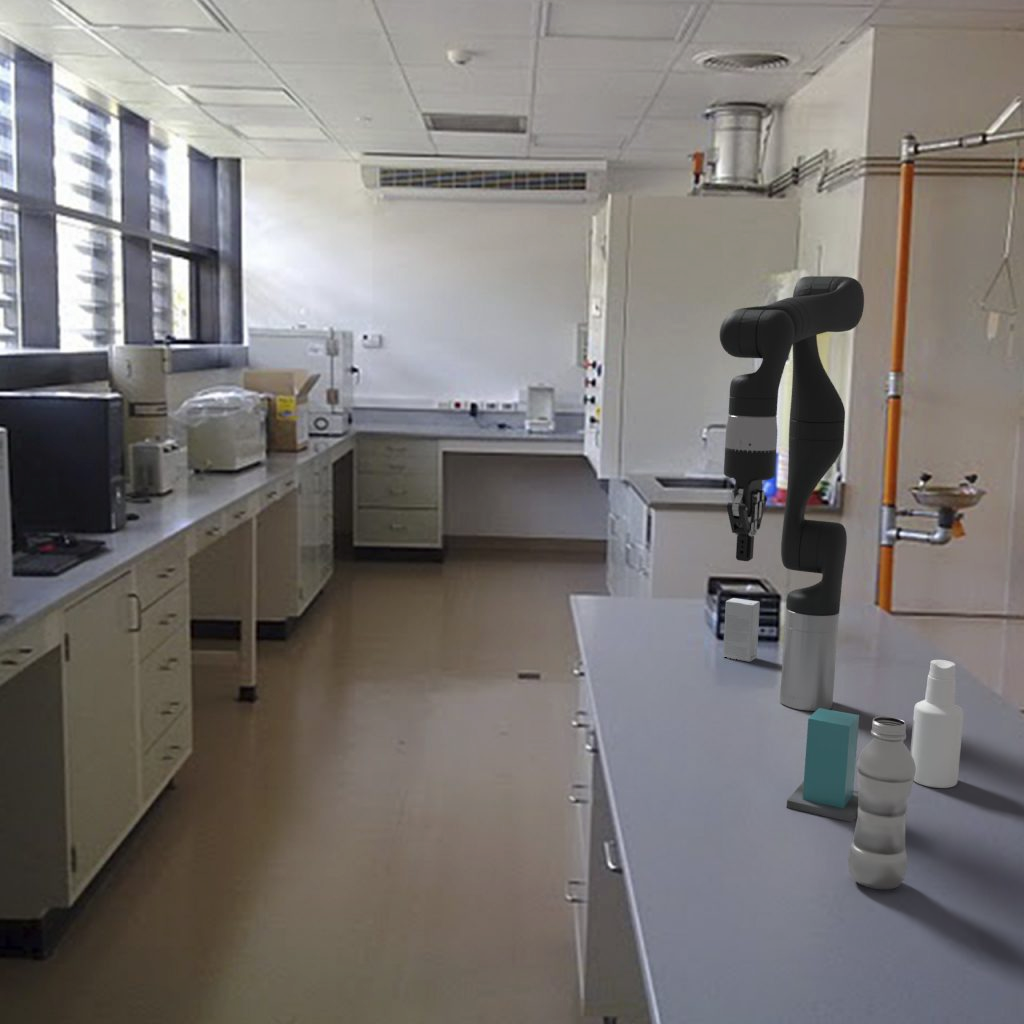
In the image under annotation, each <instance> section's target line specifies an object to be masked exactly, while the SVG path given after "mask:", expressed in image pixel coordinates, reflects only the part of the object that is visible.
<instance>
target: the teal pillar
mask: <svg viewBox="0 0 1024 1024" xmlns="http://www.w3.org/2000/svg"><path fill="white" fill-rule="evenodd" d="M859 722H860V715H859V714H854V713H849V712H843V711H839V710H833V709H822V708H818V709H817V710H816V711H813V713H812V714H811V715H810V716H809V717H808V719H807V733H806V745H805V746H806V747H805V748H806V749H805V759H804V760H805V762H804V773H803V775H804V776H803V781H804V786H803V799H804V800H808V801H813V802H817V803H822V804H826V805H831V806H835V807H840V808H844V807H845V806H846V804H847V803H848V801H849V800H850V799H851V797H852V796H853V790H854V791H855V789H854V788H855V774H856V765H857V750H858V736H859V725H860V724H859Z"/></svg>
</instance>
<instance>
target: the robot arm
mask: <svg viewBox="0 0 1024 1024" xmlns="http://www.w3.org/2000/svg"><path fill="white" fill-rule="evenodd" d="M864 307H865V294H864V289H863V286H862V284H861V283H860V281H858V280H857V279H856V278H853V277H850V276H841V275H840V276H839V275H838V276H836V275H835V276H834V275H833V276H831V275H830V276H829V275H826V276H824V275H821V276H818V275H817V276H815V275H813V276H812V275H811V276H803V277H801V278H800V279H798V281H797V282H796V284H795V286H794V289H793V294H792V297H786V298H783V299H779V300H778V301H775V302H772V303H770V304H766V305H759V306H750V307H742V308H737V309H735V310H733V311H731V312H729V314H727V315H726V316H725V318H724V319H723V321H722V323H721V325H720V329H719V341H720V344H721V347H722V348H723V350H724V351H725V352H726V353H727V354H728V355H730V356H732V357H735V358H738V359H739V358H740V359H741V358H742V359H762V362H761V363H760V366H759V367H758V369H757V370H756V371H755V372H751V373H745V374H740V375H737V376H734V377H733V378H732V379H731V382H730V386H729V397H728V398H729V400H728V416H727V417H728V418H727V423H726V429H725V441H724V442H725V443H724V461H723V474H724V476H725V477H727V478H730V479H734V480H735V483H734V487H733V489H732V491H731V502H727V505H726V509H727V513H728V518H729V519H728V520H729V524H730V529H731V533H732V534H734V535H735V536H736V549H735V550H736V551H735V552H736V553H735V558H736V560H737V561H739V562H740V561H743V562H749V561H751V560H752V559H753V558H754V546H755V545H754V543H755V536H756V535H757V531H758V530H760V528H761V524H762V522H763V521H762V519H763V517H764V514H765V513H764V512H765V508H766V504H767V501H768V496H767V494H765V490H764V489H763V481H768V480H771V479H773V478H775V476H776V464H777V463H776V462H777V446H778V445H777V444H778V421H777V419H778V417H777V415H778V403H779V402H778V401H779V400H778V399H779V388H780V386H781V385H780V384H781V380H782V377H783V374H784V369H785V366H786V363H787V361H788V357H789V356H790V353H791V350H792V383H791V396H790V397H791V399H790V401H791V402H790V408H789V409H790V410H789V421H788V422H789V425H788V463H787V464H788V465H787V467H788V468H787V485H786V487H787V488H786V497H785V498H786V499H785V505H784V514H783V523H782V533H781V543H780V557H781V562H782V564H783V567H784V568H785V569H787V570H791V571H797V572H805V573H813V574H814V573H815V574H821V575H822V577H821V580H820V581H819V582H817V583H815V584H813V585H810V586H807V587H802V588H797V589H794V590H791V591H790V592H788V594H787V595H786V601H785V602H786V603H785V617H784V618H785V620H784V630H783V631H784V632H783V633H784V635H783V636H784V637H783V645H782V647H783V649H782V650H783V651H782V660H781V661H782V663H781V677H780V678H781V679H780V691H779V702H780V703H781V704H783V705H784V706H786V707H788V708H790V709H796V710H801V711H807V712H808V711H810V712H811V711H812V712H815V711H816V710H817V709H818V708H822V709H828V710H831V709H832V707H833V705H834V704H833V701H834V688H835V681H836V680H835V679H836V678H835V677H836V666H837V665H836V664H837V652H838V651H837V650H838V638H839V637H838V635H839V623H840V620H839V619H840V613H841V612H840V609H841V608H840V607H841V597H842V584H843V575H844V569H845V560H846V553H847V552H846V551H847V545H848V543H847V542H848V541H847V540H848V539H847V538H848V537H847V531H846V528H845V526H844V525H843V524H842V523H840V522H834V521H823V520H814V519H805V513H806V509H807V505H808V502H809V500H810V497H812V495H813V493H814V491H815V489H816V488H817V486H818V484H820V481H821V480H822V479H823V478H824V476H825V475H826V474H827V473H828V471H829V470H830V469H831V467H832V466H833V465H834V464H835V462H836V461H837V459H838V457H839V456H840V454H841V452H842V450H843V446H844V442H845V441H844V439H845V438H844V437H845V423H846V409H845V405H844V403H843V400H842V398H841V396H840V394H839V392H838V391H837V389H836V387H835V385H834V384H833V382H832V380H831V378H830V377H829V375H828V373H827V371H826V369H825V367H824V365H823V363H822V360H821V358H820V353H819V348H818V347H819V346H818V340H817V339H818V337H817V335H821V334H824V333H841V332H848V331H851V330H853V329H855V328H856V327H857V326H858V324H859V323H860V321H861V319H862V317H863V313H864Z"/></svg>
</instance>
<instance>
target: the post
mask: <svg viewBox="0 0 1024 1024" xmlns="http://www.w3.org/2000/svg"><path fill="white" fill-rule="evenodd" d="M803 786H804V780H803V781H802V783H801V784H800V785H798V787H797V788H796V789H795V790H794V792H793V793H792V794H791V795H790V797H788V799H786V808H789V809H791V810H795V811H801V812H805V813H810V814H814V815H817V816H824V817H827V818H833V819H836V820H840V821H846V822H847V823H848V822H849V823H854V821H855V820H856V819H857V816H858V806H859V805H858V790H855V789H854V790H853V796H852V797H851V799H850V800H849V801H848V803H847V804H846V806H845V807H844V808H840V807H835V806H831V805H826V804H822V803H817V802H813V801H808V800H804V799H803Z"/></svg>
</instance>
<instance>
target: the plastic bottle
mask: <svg viewBox="0 0 1024 1024" xmlns="http://www.w3.org/2000/svg"><path fill="white" fill-rule="evenodd" d="M871 724H872V728H871V729H870V735H871V737H872V739H871V740H870V741H869V742H868V743H867V744H866V745H865V746H864V747H863V749H862V750H861V751H860V754H859V755H858V758H857V759H856V769H857V772H856V775H857V787H858V788H857V789H858V790H857V791H858V805H859V806H858V815H857V817H856V824H855V829H854V833H853V840H852V842H851V845H850V848H849V851H848V857H847V862H848V863H847V864H848V872H849V874H850V876H851V878H853V880H854V881H855V882H856V883H858V884H859V885H862V886H864V887H866V888H870V889H876V890H891V889H895V888H897V887H899V886H900V884H901V883H903V881H904V880H905V876H906V873H907V871H908V860H907V859H908V858H907V857H908V856H907V851H906V820H907V812H908V806H909V800H910V796H911V792H912V788H913V784H914V781H913V780H914V777H915V771H916V766H915V762H914V759H913V757H912V755H911V753H910V752H911V751H910V750H909V749H908V747H907V746H906V744H905V743H904V741H906V739H907V733H906V730H907V723H906V721H905V720H903V719H901V718H898V717H894V716H893V717H892V716H875V717H873V719H872V723H871Z"/></svg>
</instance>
